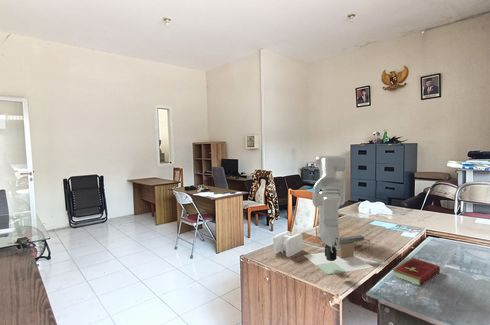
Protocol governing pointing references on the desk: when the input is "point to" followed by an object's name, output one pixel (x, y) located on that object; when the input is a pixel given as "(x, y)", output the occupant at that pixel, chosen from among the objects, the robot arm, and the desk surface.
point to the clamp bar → (351, 239)
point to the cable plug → (328, 252)
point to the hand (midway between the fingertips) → (330, 257)
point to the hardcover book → (416, 271)
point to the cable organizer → (287, 243)
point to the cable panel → (339, 260)
